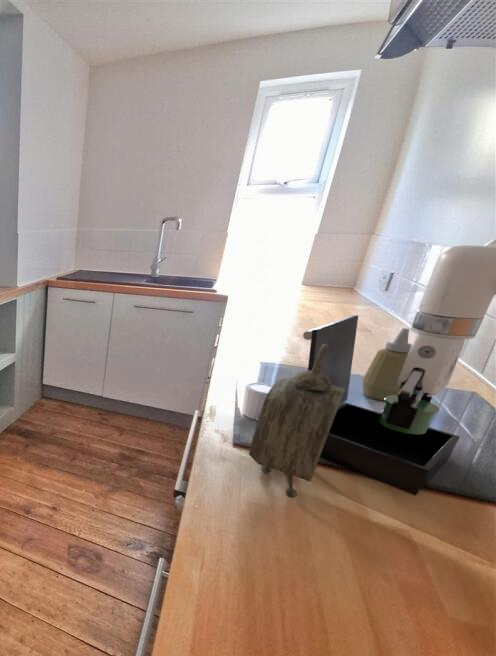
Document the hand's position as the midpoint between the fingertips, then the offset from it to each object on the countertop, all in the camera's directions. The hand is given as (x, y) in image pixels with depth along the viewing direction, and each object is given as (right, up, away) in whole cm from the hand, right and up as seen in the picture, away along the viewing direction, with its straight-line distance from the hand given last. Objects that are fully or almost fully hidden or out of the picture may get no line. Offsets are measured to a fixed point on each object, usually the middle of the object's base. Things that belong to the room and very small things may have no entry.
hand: (404, 418), depth 75 cm
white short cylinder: (-13, -1, +22) cm, 25 cm away
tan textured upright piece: (-24, -11, 0) cm, 26 cm away
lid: (-7, +10, +7) cm, 14 cm away
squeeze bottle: (+25, +3, +31) cm, 40 cm away
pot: (0, -1, +1) cm, 1 cm away
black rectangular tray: (-2, -8, +5) cm, 10 cm away
